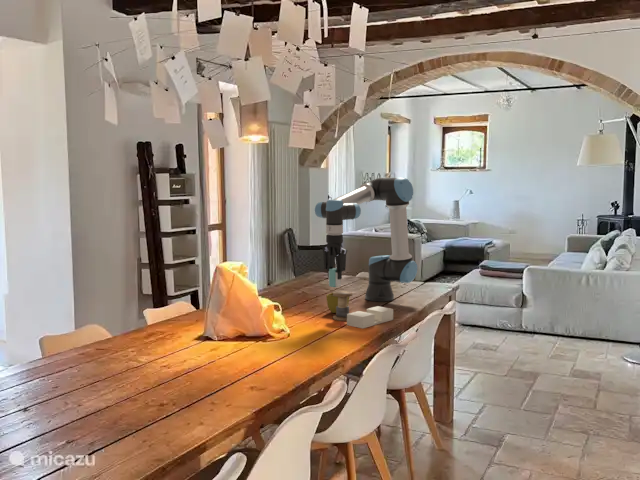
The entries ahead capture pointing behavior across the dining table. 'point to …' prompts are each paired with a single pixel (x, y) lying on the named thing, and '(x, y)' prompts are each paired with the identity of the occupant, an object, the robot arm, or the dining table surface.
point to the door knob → (342, 305)
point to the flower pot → (333, 302)
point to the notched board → (370, 317)
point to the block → (332, 277)
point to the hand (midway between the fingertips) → (334, 285)
